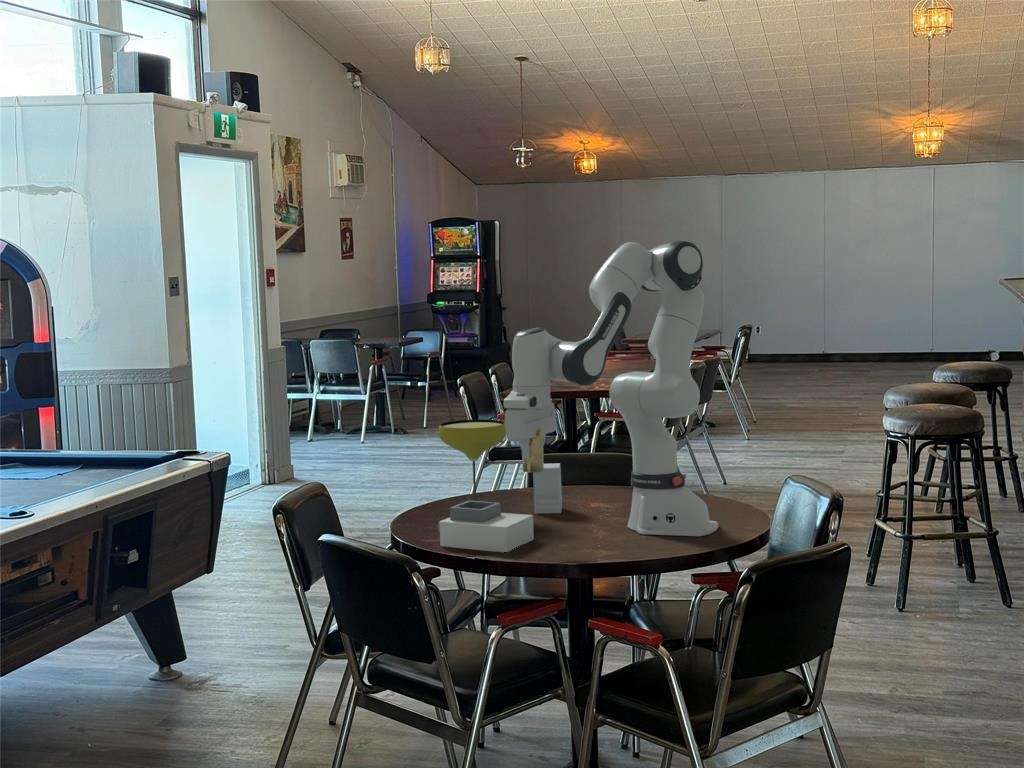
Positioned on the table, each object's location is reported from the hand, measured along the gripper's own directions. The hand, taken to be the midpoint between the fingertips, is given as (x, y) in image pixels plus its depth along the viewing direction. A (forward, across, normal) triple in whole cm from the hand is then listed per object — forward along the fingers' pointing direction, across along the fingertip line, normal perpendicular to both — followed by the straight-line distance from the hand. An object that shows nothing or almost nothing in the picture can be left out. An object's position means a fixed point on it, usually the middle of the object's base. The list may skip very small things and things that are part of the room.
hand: (532, 455), depth 263 cm
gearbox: (+22, +2, -14) cm, 26 cm away
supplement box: (+21, -36, -13) cm, 44 cm away
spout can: (+4, 0, 0) cm, 4 cm away
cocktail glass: (+22, -24, -30) cm, 44 cm away
